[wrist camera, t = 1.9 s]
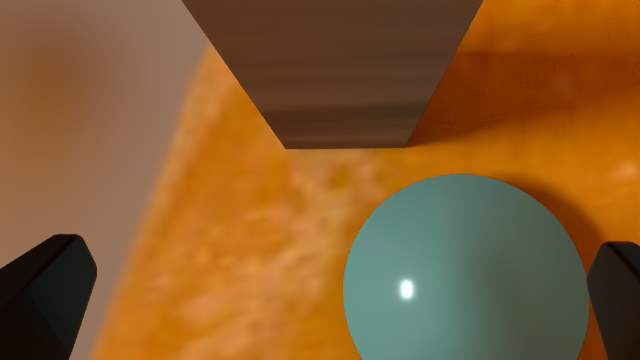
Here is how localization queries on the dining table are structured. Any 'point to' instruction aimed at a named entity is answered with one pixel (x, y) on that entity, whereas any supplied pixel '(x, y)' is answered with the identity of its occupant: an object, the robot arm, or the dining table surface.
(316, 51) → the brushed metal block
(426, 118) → the dining table surface
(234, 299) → the dining table surface
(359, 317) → the teal base
